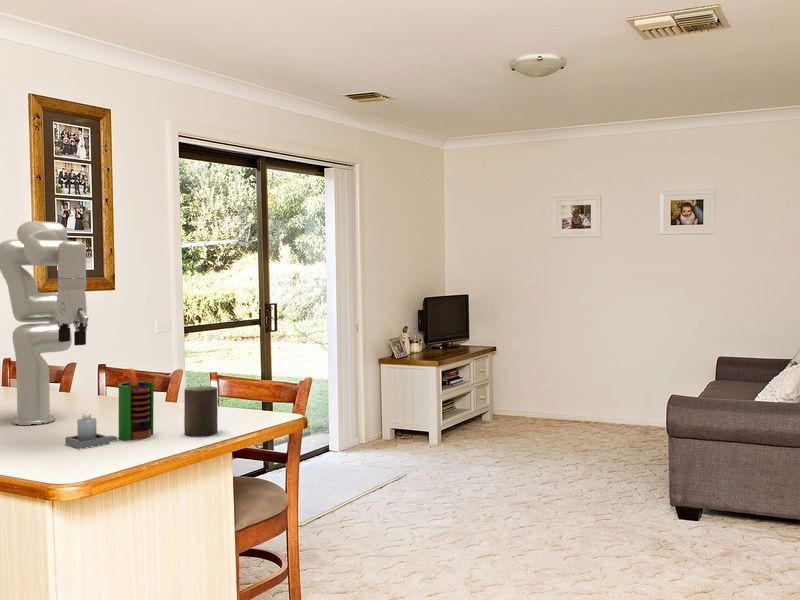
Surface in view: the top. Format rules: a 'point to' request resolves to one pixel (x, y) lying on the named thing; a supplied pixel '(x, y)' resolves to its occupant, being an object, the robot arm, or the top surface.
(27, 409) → the robot arm
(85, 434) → the pump
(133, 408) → the motor
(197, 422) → the pillar candle
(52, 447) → the top surface
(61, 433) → the top surface
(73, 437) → the grey tray
